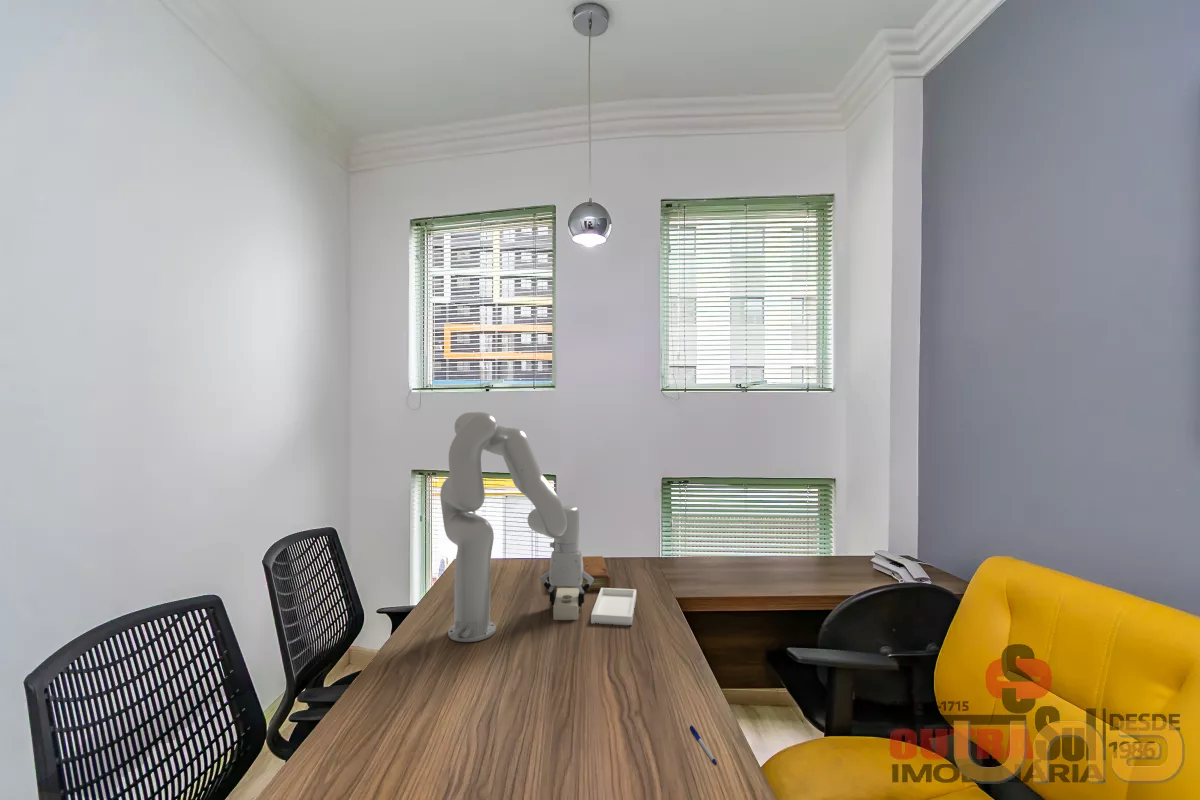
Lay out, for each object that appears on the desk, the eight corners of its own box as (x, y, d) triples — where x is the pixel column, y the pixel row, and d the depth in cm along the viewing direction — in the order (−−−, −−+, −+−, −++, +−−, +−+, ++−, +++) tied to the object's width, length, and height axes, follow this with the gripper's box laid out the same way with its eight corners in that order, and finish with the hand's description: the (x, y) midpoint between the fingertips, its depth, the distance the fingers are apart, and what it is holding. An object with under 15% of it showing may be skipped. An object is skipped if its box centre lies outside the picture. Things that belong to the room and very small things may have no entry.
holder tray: (631, 625, 144) (631, 616, 144) (591, 623, 146) (591, 614, 146) (636, 597, 166) (636, 589, 167) (601, 595, 168) (601, 587, 168)
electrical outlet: (579, 585, 166) (577, 605, 148) (579, 597, 166) (577, 620, 148) (557, 585, 166) (553, 605, 148) (557, 597, 166) (553, 620, 148)
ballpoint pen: (688, 729, 97) (688, 724, 97) (692, 728, 97) (692, 723, 98) (714, 766, 87) (714, 760, 87) (719, 765, 87) (719, 759, 87)
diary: (609, 592, 173) (609, 575, 173) (554, 593, 172) (554, 576, 172) (604, 570, 196) (604, 555, 196) (555, 571, 194) (555, 556, 195)
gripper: (536, 549, 154) (536, 608, 154) (593, 551, 152) (593, 610, 151) (542, 543, 161) (542, 598, 161) (596, 544, 159) (596, 601, 159)
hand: (567, 604), depth 156 cm, fingers closed on electrical outlet, 7 cm apart
